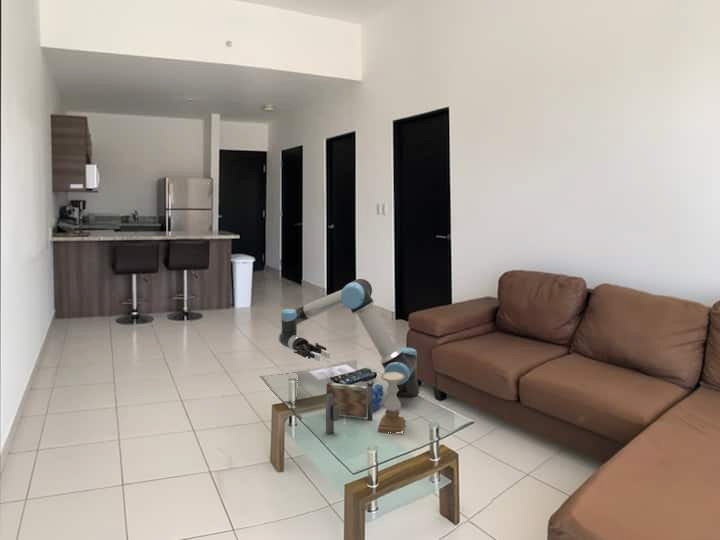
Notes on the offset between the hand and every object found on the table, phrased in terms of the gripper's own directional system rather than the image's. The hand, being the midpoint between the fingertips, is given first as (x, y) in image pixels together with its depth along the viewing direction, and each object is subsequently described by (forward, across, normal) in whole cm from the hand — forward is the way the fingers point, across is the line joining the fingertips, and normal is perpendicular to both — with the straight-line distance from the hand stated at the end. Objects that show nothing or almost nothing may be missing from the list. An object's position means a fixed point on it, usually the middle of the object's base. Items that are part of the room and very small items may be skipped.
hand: (324, 356), depth 243 cm
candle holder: (+33, -14, -26) cm, 44 cm away
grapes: (+13, -20, -26) cm, 35 cm away
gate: (+12, -4, -25) cm, 28 cm away
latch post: (+21, +10, -26) cm, 35 cm away
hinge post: (+21, -11, -26) cm, 35 cm away
